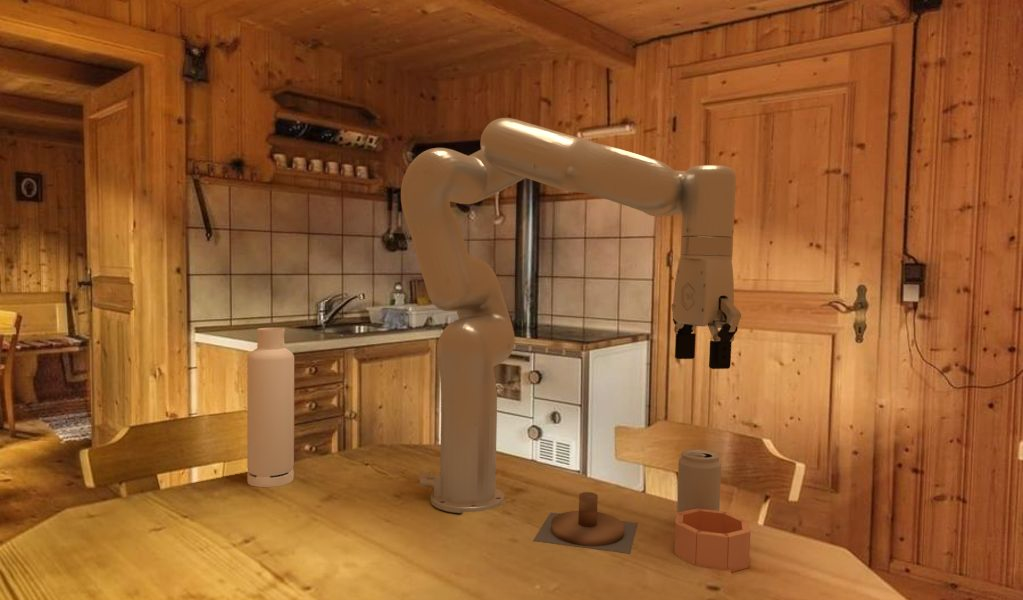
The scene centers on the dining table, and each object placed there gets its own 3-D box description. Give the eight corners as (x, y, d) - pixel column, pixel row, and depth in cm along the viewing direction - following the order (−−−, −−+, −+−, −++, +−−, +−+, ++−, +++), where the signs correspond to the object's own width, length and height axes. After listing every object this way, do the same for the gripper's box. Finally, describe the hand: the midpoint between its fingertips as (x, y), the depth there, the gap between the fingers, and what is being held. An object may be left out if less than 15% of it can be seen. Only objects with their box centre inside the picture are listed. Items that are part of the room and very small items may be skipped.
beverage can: (720, 539, 105) (723, 460, 104) (676, 534, 106) (679, 457, 105) (716, 523, 111) (719, 449, 110) (675, 519, 112) (678, 446, 111)
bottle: (285, 487, 124) (285, 331, 122) (240, 486, 124) (240, 330, 122) (299, 473, 132) (300, 327, 130) (257, 472, 132) (257, 326, 130)
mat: (533, 544, 101) (533, 540, 101) (550, 515, 113) (550, 512, 113) (629, 557, 97) (629, 553, 97) (637, 526, 109) (637, 522, 109)
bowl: (673, 566, 95) (674, 530, 94) (676, 538, 104) (677, 506, 104) (750, 576, 92) (751, 539, 92) (745, 547, 102) (747, 513, 101)
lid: (543, 540, 101) (544, 503, 101) (559, 514, 112) (559, 480, 111) (619, 550, 98) (620, 511, 98) (627, 522, 109) (628, 487, 108)
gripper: (656, 249, 111) (651, 355, 112) (716, 248, 94) (711, 373, 95) (697, 250, 113) (693, 355, 114) (764, 250, 96) (758, 372, 97)
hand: (701, 363), depth 105 cm, fingers open, 9 cm apart
